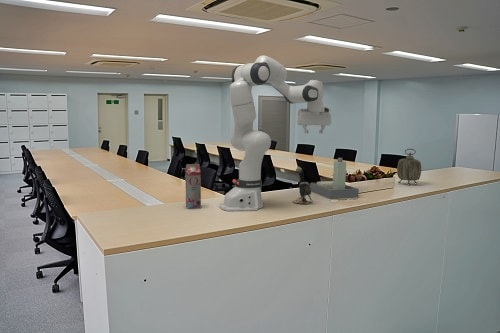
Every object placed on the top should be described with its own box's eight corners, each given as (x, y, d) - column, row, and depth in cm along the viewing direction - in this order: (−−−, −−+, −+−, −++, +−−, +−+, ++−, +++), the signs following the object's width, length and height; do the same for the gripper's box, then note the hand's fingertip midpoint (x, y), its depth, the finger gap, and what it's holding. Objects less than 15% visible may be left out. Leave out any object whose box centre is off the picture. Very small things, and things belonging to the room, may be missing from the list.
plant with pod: (304, 206, 202) (305, 168, 200) (290, 202, 212) (291, 165, 209) (315, 204, 207) (317, 167, 204) (301, 200, 216) (302, 165, 213)
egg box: (322, 194, 229) (322, 183, 229) (316, 191, 237) (316, 181, 236) (340, 192, 233) (340, 183, 232) (333, 190, 241) (333, 180, 240)
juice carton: (200, 208, 195) (200, 164, 192) (187, 209, 193) (187, 165, 190) (198, 205, 201) (198, 163, 199) (185, 206, 200) (185, 163, 197)
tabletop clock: (418, 184, 272) (420, 148, 269) (420, 186, 264) (423, 149, 260) (396, 183, 276) (398, 147, 272) (398, 185, 267) (400, 149, 263)
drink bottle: (337, 197, 221) (338, 158, 218) (332, 195, 225) (333, 157, 222) (344, 196, 222) (346, 158, 219) (340, 195, 227) (341, 157, 224)
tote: (330, 201, 215) (330, 190, 215) (310, 192, 238) (310, 183, 237) (358, 199, 221) (358, 188, 220) (336, 191, 244) (336, 181, 243)
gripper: (300, 108, 217) (299, 133, 219) (333, 109, 223) (331, 133, 225) (295, 108, 223) (295, 132, 224) (327, 109, 229) (326, 133, 231)
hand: (313, 133), depth 225 cm, fingers open, 8 cm apart
